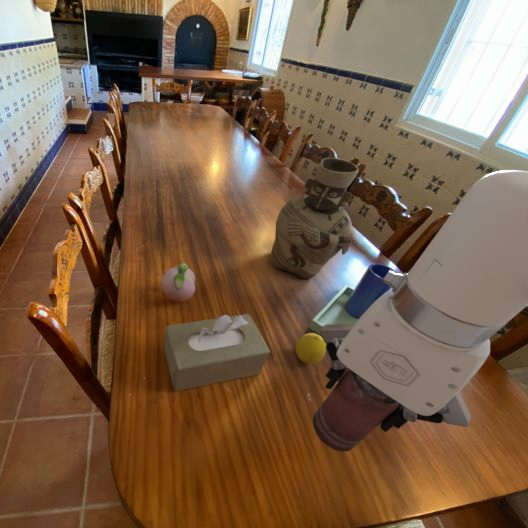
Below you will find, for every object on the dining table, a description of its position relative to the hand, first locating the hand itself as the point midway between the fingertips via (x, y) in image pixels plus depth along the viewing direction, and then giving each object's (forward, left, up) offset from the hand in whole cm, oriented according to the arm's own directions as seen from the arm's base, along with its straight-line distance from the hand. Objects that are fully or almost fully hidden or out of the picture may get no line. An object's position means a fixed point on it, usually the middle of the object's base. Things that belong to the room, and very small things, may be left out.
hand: (358, 400), depth 39 cm
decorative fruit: (+40, -7, -18) cm, 45 cm away
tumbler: (+7, -39, -18) cm, 44 cm away
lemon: (+9, -16, -18) cm, 26 cm away
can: (0, 0, -9) cm, 9 cm away
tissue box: (+22, 0, -18) cm, 29 cm away
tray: (+2, -35, -18) cm, 39 cm away
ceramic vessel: (+28, -47, -18) cm, 58 cm away
